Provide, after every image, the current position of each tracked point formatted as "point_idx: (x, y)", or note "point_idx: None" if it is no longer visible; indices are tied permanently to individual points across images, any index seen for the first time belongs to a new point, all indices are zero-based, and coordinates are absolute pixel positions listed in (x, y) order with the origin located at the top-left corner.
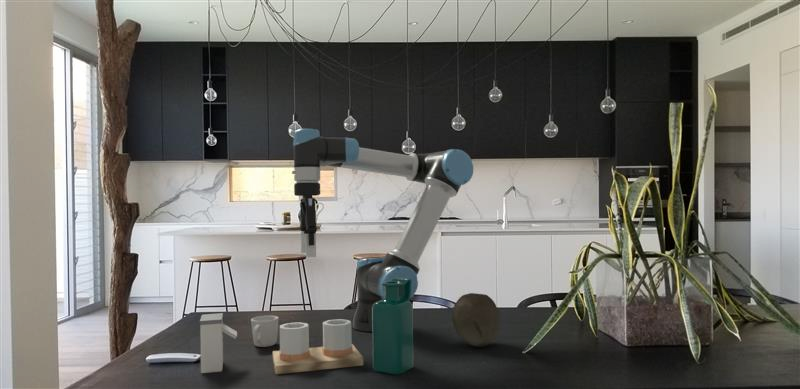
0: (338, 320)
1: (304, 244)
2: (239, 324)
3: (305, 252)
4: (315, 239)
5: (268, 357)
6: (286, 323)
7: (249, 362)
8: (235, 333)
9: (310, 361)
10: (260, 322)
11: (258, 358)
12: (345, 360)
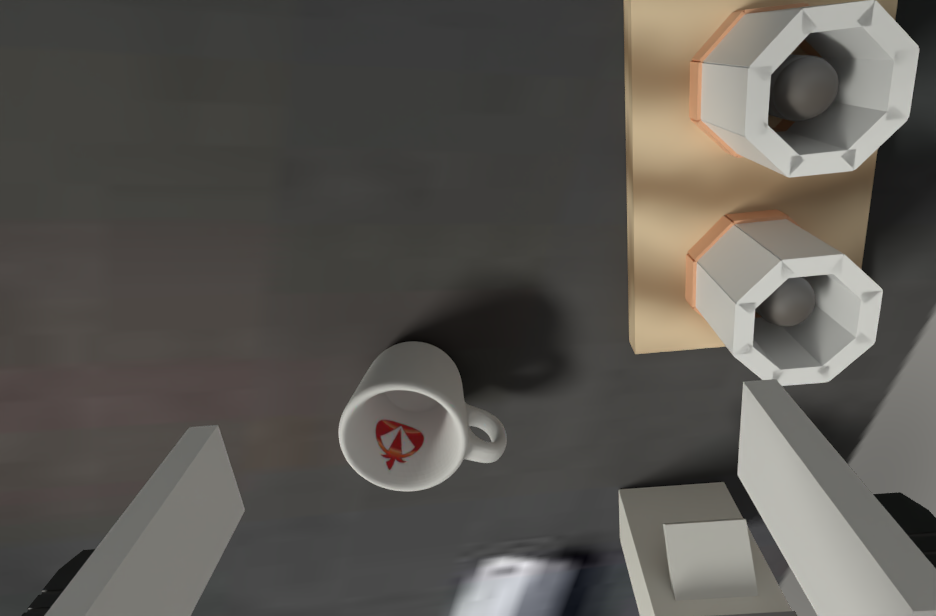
0: (770, 80)
1: (194, 554)
2: (42, 491)
3: (230, 475)
4: (902, 531)
5: (604, 355)
6: (738, 358)
7: (649, 412)
8: (712, 529)
9: (852, 207)
10: (465, 451)
11: (606, 388)
12: None
